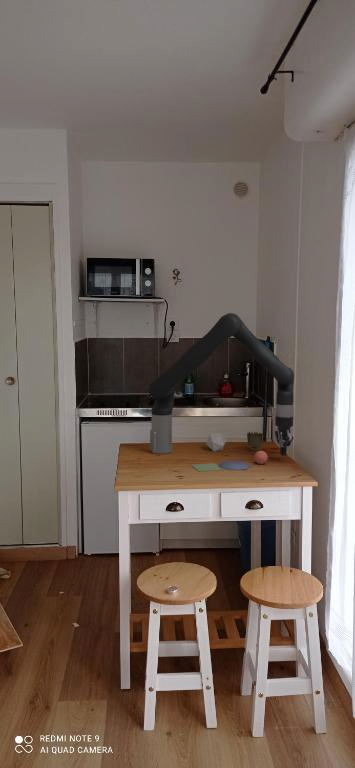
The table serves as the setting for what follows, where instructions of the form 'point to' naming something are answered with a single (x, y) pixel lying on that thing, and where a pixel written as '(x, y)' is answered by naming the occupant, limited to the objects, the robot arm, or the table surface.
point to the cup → (254, 440)
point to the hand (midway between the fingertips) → (283, 455)
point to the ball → (261, 457)
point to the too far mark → (206, 467)
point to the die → (216, 441)
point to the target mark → (234, 465)
